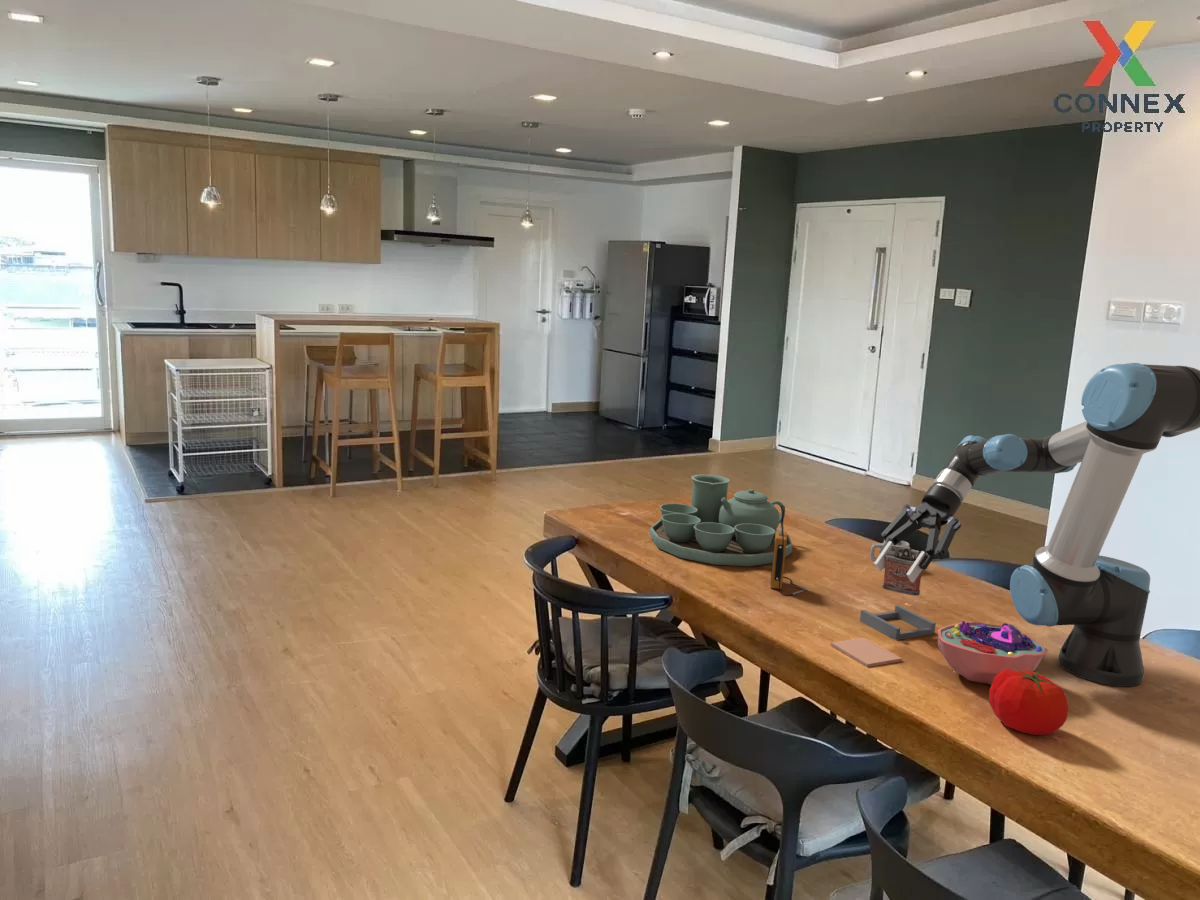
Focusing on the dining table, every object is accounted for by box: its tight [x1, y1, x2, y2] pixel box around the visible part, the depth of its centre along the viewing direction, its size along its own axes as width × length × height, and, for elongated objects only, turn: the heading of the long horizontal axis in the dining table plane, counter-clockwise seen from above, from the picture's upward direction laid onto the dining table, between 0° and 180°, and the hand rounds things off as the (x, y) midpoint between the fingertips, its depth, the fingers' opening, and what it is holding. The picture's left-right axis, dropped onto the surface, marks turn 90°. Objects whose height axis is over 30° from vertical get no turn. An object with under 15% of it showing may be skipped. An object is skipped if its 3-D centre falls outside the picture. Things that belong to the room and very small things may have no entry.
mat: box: [830, 637, 903, 668], centre depth 181 cm, size 11×9×1 cm
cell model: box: [937, 620, 1048, 685], centre depth 171 cm, size 17×20×11 cm
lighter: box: [881, 545, 923, 597], centre depth 194 cm, size 8×3×10 cm, turn 58°
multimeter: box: [770, 505, 812, 597], centre depth 217 cm, size 15×10×20 cm
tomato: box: [988, 666, 1069, 736], centre depth 152 cm, size 11×13×10 cm
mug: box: [869, 539, 910, 562], centre depth 240 cm, size 10×7×7 cm
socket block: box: [859, 604, 937, 641], centre depth 196 cm, size 11×11×2 cm
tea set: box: [649, 474, 793, 567], centre depth 249 cm, size 40×40×16 cm
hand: (893, 572), depth 192 cm, fingers closed on lighter, 8 cm apart
